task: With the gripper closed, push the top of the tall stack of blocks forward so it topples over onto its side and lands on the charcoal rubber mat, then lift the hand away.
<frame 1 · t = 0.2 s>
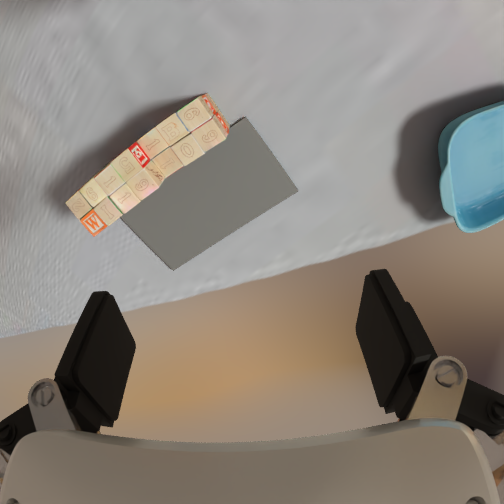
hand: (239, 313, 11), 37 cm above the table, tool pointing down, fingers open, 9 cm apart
casserole dish: (492, 149, 43), on the table
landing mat: (203, 201, 48), on the table
stack of blocks: (159, 147, 43), on the table
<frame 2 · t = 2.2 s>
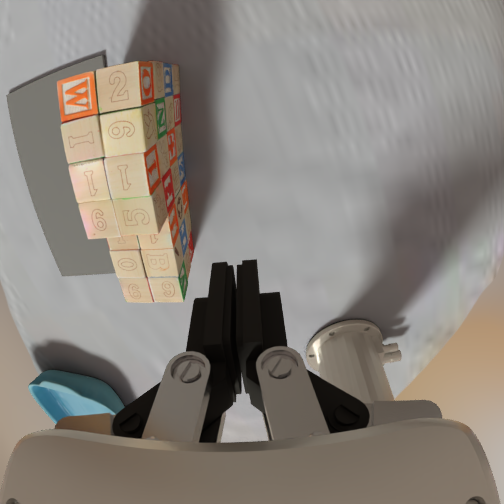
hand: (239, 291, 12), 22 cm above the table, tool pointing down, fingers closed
casserole dish: (95, 404, 59), on the table
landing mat: (72, 180, 31), on the table
stack of blocks: (158, 165, 31), on the table
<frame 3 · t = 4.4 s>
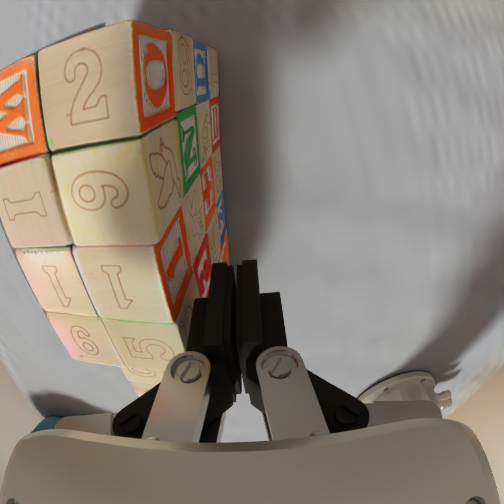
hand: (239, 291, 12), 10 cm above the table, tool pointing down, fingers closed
stack of blocks: (183, 207, 21), on the table, touching gripper
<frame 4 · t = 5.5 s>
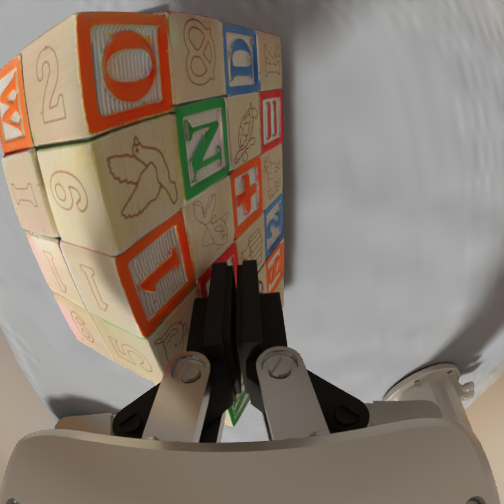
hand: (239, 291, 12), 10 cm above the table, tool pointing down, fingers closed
stack of blocks: (241, 206, 20), point 1 cm above the table, touching gripper, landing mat
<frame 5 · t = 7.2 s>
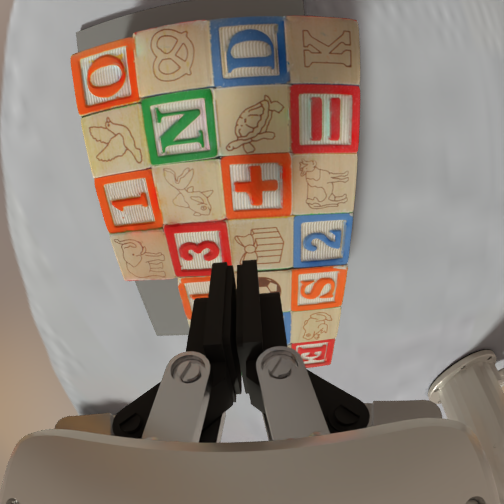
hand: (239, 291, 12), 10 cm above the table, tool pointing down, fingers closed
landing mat: (207, 194, 21), on the table
stack of blocks: (341, 212, 18), point 4 cm above the table, touching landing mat
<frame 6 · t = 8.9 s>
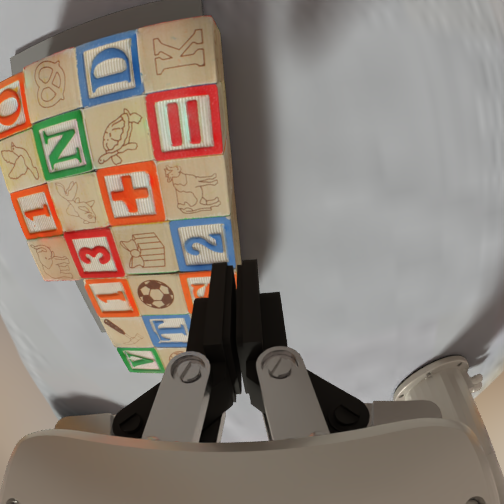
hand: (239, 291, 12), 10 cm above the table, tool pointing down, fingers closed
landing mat: (125, 199, 20), on the table
stack of blocks: (239, 215, 18), point 4 cm above the table, touching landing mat
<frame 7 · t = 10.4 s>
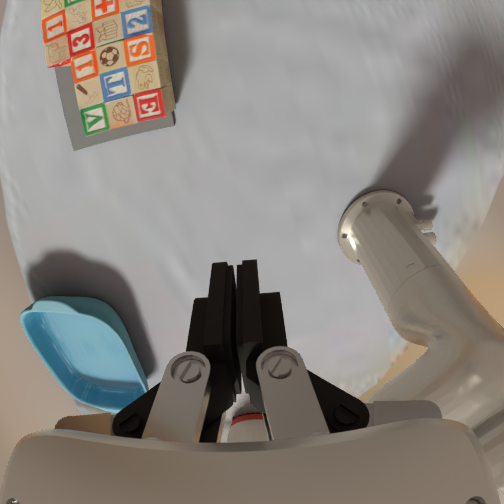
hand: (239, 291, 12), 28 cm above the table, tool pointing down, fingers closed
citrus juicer: (256, 419, 78), on the table
casserole dish: (95, 343, 57), on the table
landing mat: (102, 40, 27), on the table
stack of blocks: (161, 20, 24), point 4 cm above the table, touching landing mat
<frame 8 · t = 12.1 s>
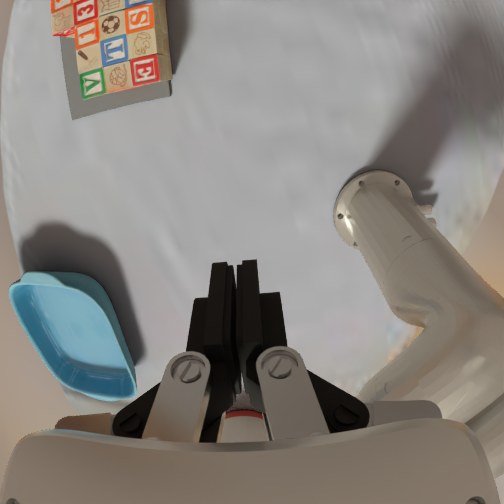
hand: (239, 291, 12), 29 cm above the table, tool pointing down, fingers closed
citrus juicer: (246, 417, 76), on the table
casserole dish: (84, 325, 55), on the table
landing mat: (107, 15, 26), on the table
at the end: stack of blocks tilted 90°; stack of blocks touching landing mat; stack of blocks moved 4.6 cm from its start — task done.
